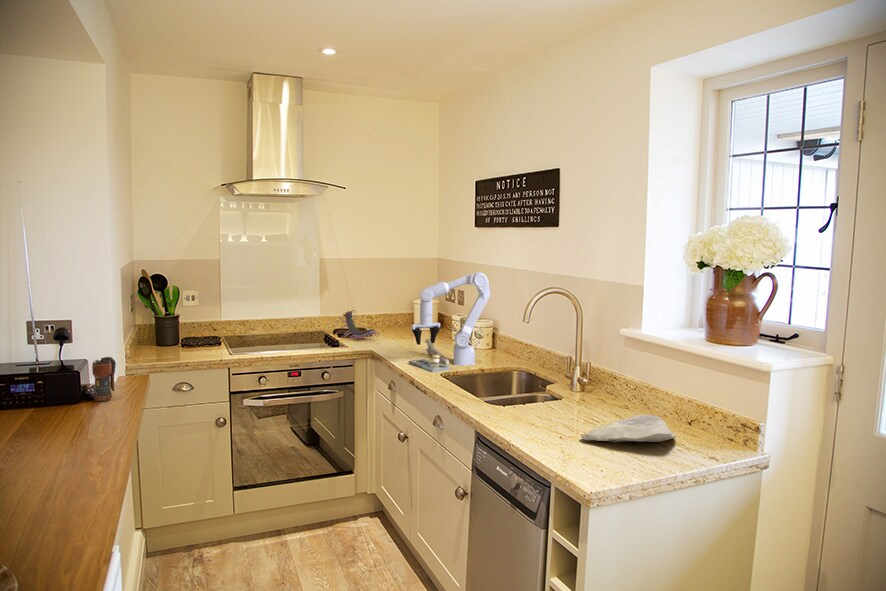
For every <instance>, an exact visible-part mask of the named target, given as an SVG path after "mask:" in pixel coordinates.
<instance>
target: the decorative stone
mask: <svg viewBox="0 0 886 591" xmlns="http://www.w3.org/2000/svg"><path fill="white" fill-rule="evenodd" d="M580 437H581V439H582V440H585V441H587V442H588V441H599V442H600V441H601V442H602V441H603V442H604V441H605V442H606V441H607V442H610V443H622V442H646V443H648V442H649V443H659V442H665V441H668V440H672V439H676V438H677V436H676V434H675V433H673V432H672V430H670V429H669V427H668V425H667V423H666V422H665V420H663V419H662V418H661V417H660V416H657V415H652V414H635V415H634V416H633V415H632V416H631V417H627V418H625V419H624V418H623V419H619V420H616V421H613V422H611V423H610V424H609V425H605V426H599V427H596V428H594V429H591V430H589V432H588V433H584V434H581V435H580Z"/></svg>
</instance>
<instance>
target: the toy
mask: <svg viewBox="0 0 886 591" xmlns="http://www.w3.org/2000/svg"><path fill="white" fill-rule="evenodd" d="M353 313H356V311H355V310H354V309H353V310H351V311H350V310H348V311H347V312H346V311H345V313H342V316H343V317H342V318H344V319H345V320H344V319H342V318H341V316H339V320H340V321H341V322H343V323H346V324H345V325H343V326H340V329H341V330H342V329H343V328H346V327H347V328H348V329H347V331H346V332H344V334H343V338H344V339H345V338H346V337H347V336H349V335H350V334H352V335H351V336H350V337H349V340H351V339H352V341H353V340H355V341H356V340H357V338H358V341H359V340H360V338H361V340H362V339H363V338H364V339H365V338H369V339H372V338H371V336H372V337H373V339H374V338H375V337H376V338H378V337H377V335H378V336H379V337H380V333H379V332H377V331H376V330H375V329H373V328H370V329H368V330H365V331H361V330H359V329H358V328H357V327H356V324H355V323H354V321H355V319H356V318H355V315H353ZM352 317H353V318H352ZM374 335H375V337H374Z"/></svg>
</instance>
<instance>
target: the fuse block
mask: <svg viewBox="0 0 886 591" xmlns="http://www.w3.org/2000/svg"><path fill="white" fill-rule="evenodd" d="M408 364H409V365H412V366H415V367H416V368H419V369H423V368H422V365H428V364H432V361H430V360H427V359H425V358H424V359H423V358H422V359H421V358H420V359H413V360H408Z"/></svg>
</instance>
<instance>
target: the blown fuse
mask: <svg viewBox="0 0 886 591" xmlns="http://www.w3.org/2000/svg"><path fill="white" fill-rule="evenodd" d="M431 358H432V360H431V362H432V367H431V368H432V369H437V368H440V367H439V364H440V361H439V358H440V355H433V354H432V355H431Z"/></svg>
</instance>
